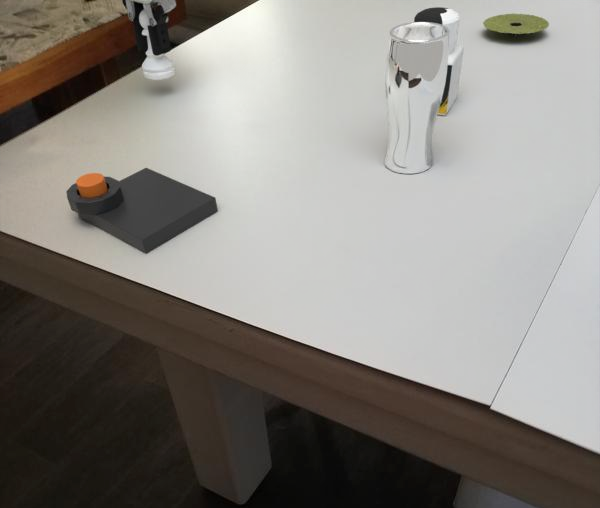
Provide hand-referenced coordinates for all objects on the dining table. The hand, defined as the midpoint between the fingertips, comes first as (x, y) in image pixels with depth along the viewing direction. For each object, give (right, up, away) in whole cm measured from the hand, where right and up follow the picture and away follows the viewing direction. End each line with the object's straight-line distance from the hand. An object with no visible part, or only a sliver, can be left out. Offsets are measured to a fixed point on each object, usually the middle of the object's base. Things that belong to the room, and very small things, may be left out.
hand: (154, 49), depth 92 cm
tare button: (-1, -30, -23) cm, 38 cm away
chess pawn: (0, -3, +3) cm, 4 cm away
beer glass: (+37, -24, -16) cm, 47 cm away
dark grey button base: (+4, -32, -21) cm, 39 cm away
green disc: (+61, +11, +14) cm, 64 cm away
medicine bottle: (+42, -11, -4) cm, 43 cm away
